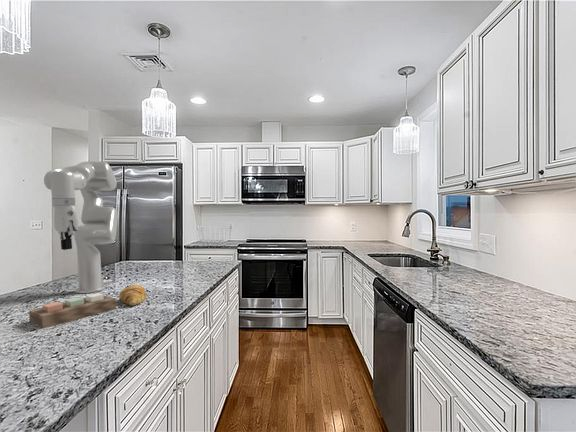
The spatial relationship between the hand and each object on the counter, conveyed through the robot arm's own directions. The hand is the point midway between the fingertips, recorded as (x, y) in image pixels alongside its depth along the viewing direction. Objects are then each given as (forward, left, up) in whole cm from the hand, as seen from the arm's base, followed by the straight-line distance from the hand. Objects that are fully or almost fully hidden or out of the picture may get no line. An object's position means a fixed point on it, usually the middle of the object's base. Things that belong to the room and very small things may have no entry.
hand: (66, 249), depth 130 cm
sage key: (+3, +12, -22) cm, 25 cm away
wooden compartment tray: (+3, +12, -23) cm, 27 cm away
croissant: (-19, +13, -24) cm, 33 cm away
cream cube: (-4, +12, -22) cm, 25 cm away
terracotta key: (+10, +12, -22) cm, 27 cm away
